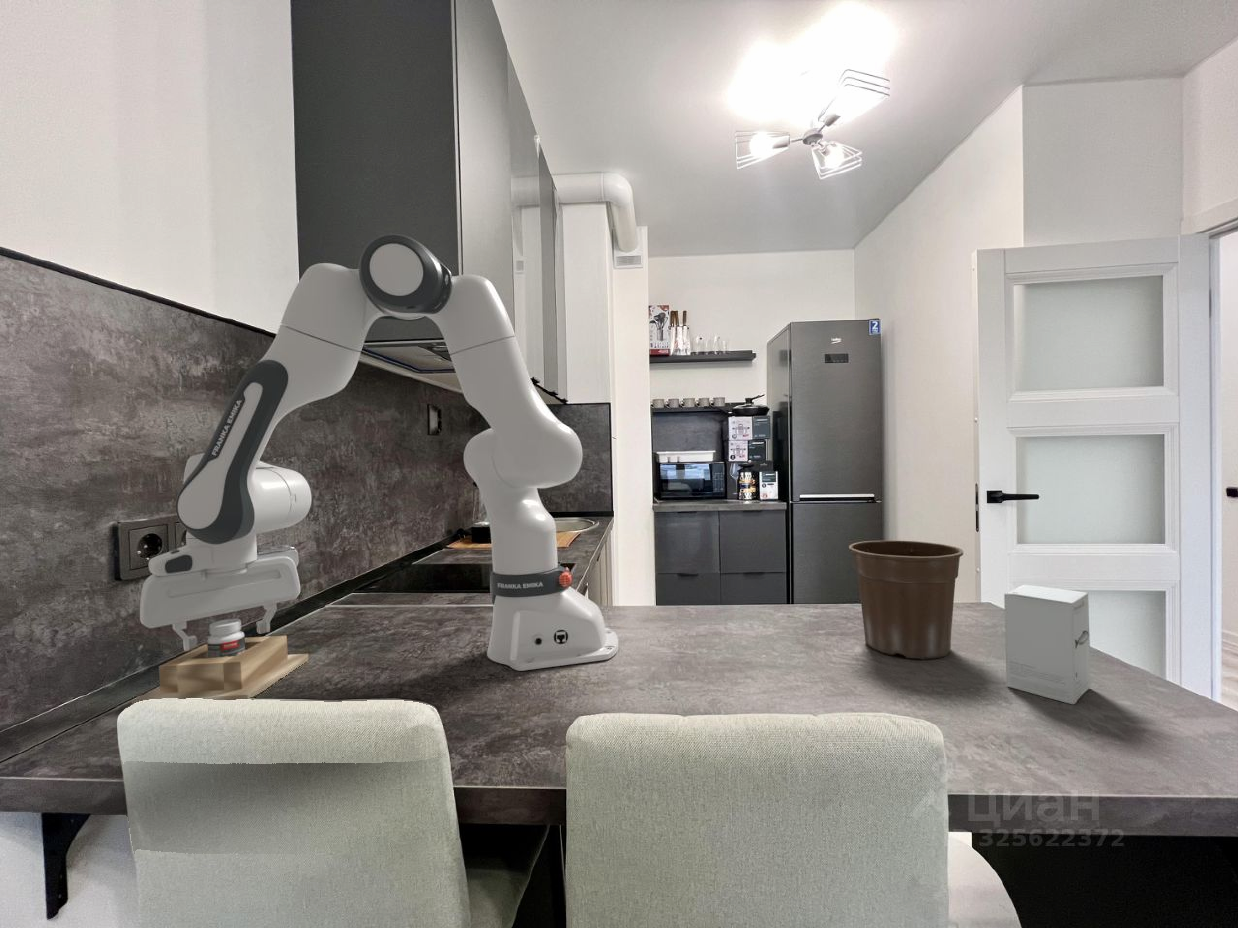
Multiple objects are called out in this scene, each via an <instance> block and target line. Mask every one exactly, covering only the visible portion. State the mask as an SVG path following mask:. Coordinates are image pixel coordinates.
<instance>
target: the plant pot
mask: <svg viewBox="0 0 1238 928" xmlns="http://www.w3.org/2000/svg"><path fill="white" fill-rule="evenodd" d="M848 548H849V551H850V552H852V553H851V554H852V557H853V567H854V571H855V572H856V575H857V582H858V589H859V598H860V605H861V606H860V607H861V614H862V615H861V616H862V622H863V623H862V624H863V630H864V640H865V644H867V646H869V647H870V648H872V649H874V650H875V651H878V652H881V653H883V654H886V655H890V656H895V655H897V654H899V655H902V656H904V657H905V658H907V659H916V660H917V659H921V660H932V659H938V658H943V657H945V656H947V655H949V653H950V649H951V647H952V645H951V644H952V630H953V629H952V628H953V615H954V614H953V613H954V601H955V589H956V579H957V578H958V577H959V569H960V568H959V567H960V560H961V557H962V556H963V555H964V549H961V548H960V547H957V546H953V545H949V544H945V543H943V544H942V543H936V542H935V543H934V542H927V541H926V542H925V541H919V540H917V541H915V540H868V541H866V540H865V541H859V542H855V543H852V544H850V545H849V546H848Z"/></svg>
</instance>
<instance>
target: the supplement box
mask: <svg viewBox="0 0 1238 928" xmlns="http://www.w3.org/2000/svg"><path fill="white" fill-rule="evenodd" d="M1003 596H1004V598H1003V599H1004V603H1003V604H1004V628H1005V629H1004V630H1005V631H1004V635H1005V671H1006V675H1005V676H1006V677H1005V678H1006V687H1009V688H1012V689H1015V690H1019V691H1023V692H1026V693H1029V694H1032V695H1037V696H1039V697H1044V698H1048V699H1052V700H1055V701H1058V702H1062V703H1066V704H1071V705H1075V704H1076V703H1077V702H1078V701H1079V699H1080V698H1081V697H1082V696H1083V695H1084V694H1085V693H1086V692H1087V691H1089V689H1091V685H1092V682H1091V640H1090V634H1091V633H1090V613H1089V611H1090V610H1089V592H1086V591H1085V592H1084V591H1078V590H1073V589H1072V590H1071V589H1064V588H1057V587H1048V586H1047V587H1046V586H1041V585H1040V586H1039V585H1032V584H1022V585H1019V586H1018V587H1015V588H1013V589H1011V590H1009V591H1008V592H1005V593H1004V595H1003Z"/></svg>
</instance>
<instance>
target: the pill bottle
mask: <svg viewBox="0 0 1238 928" xmlns="http://www.w3.org/2000/svg"><path fill="white" fill-rule="evenodd" d="M209 635H210V636H209V637H208V639H207V641H206V644H207V646H208V658H216V657H233V656H236V655H238V654H240V653H242V652H244V651H245V638H246V636H245V633H244V632H243V631H242V620H241V619H240V618H229V619H223V620H219V621H215V622H212V623H211V624H209Z"/></svg>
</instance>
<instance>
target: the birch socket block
mask: <svg viewBox="0 0 1238 928" xmlns="http://www.w3.org/2000/svg"><path fill="white" fill-rule="evenodd" d="M287 639H288V638H287V635H272V636H254V637H252V636H251V637H245V651H244V652H242V653H240V654H238V655H236V656H233V657H216V658H208V646H207V643H205V644H203V645H201V646H198V648H197V649H194V650H189V651H187V652H186V653H184V654H182V655H180V656H178V657H176V658H172V660H169V661H167V662H166V663H162V664H161V665H158V673H159V686H158V687H157V688H155V689H153V690H151V691H149V692H147V693H145V694H144V695H142V696H139V697H138V698H135V699H134V700H132V701H131V705H132V704H134V703H136V702H139V701H143V700H149V699H162V698H178V699H186V698H203V699H213V700H236V699H253V700H254V699H255V698H250V697H253V696H255V695H257V694H259V693H260V692H262V691H264V690H266V689H267V688H268V687H270V686H271V685H272V684H274V683H275V682H276V681H278V680H279V679H280V678H283V677H284V678H286V677H287V676H289V675H290V674H291V673H290V672H292V671H293V670H295V669H296V668H297V669H299V668H300V667H302V666H303V665H305V664H306V663H308V662H309V661H308V660H309V653H297V654H295V653H294V654H288V640H287ZM305 662H306V663H305ZM304 663H305V664H304ZM302 664H303V665H302ZM301 665H302V666H301ZM299 666H300V667H299ZM298 667H299V668H298ZM297 669H296V670H297ZM296 670H295V671H296ZM293 672H294V671H293ZM293 672H292V673H293ZM289 673H290V674H289ZM288 674H289V675H288ZM286 675H287V676H286ZM285 676H286V677H285ZM284 678H283V679H284ZM274 685H275V684H274ZM270 688H271V687H270ZM267 690H268V689H267ZM267 690H266V691H267ZM264 692H265V691H264Z"/></svg>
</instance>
